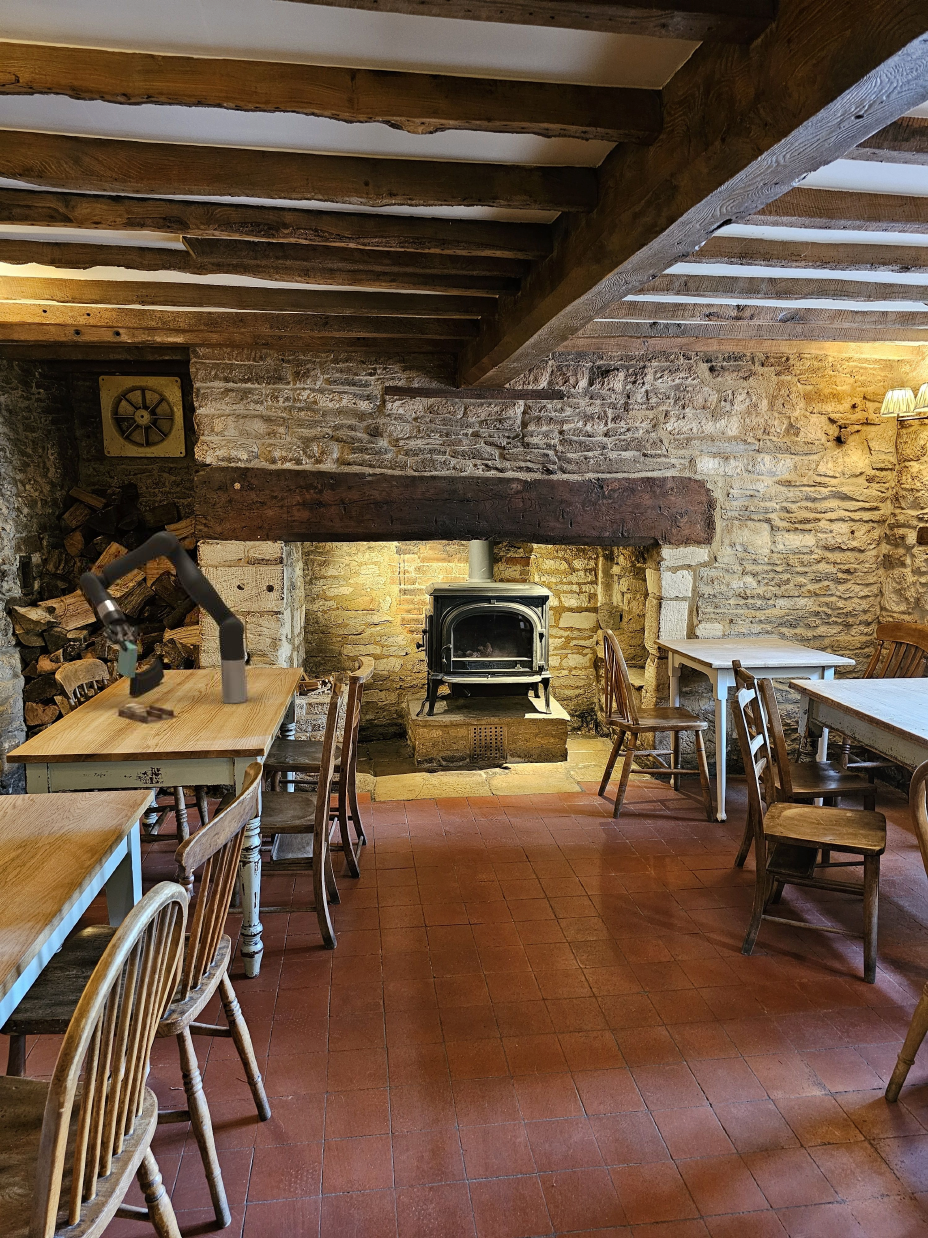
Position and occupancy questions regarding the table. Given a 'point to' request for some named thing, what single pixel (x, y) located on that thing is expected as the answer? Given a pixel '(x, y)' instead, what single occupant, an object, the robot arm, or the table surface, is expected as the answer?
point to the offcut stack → (136, 709)
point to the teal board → (127, 661)
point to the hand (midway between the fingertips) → (130, 649)
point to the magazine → (146, 679)
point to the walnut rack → (149, 715)
